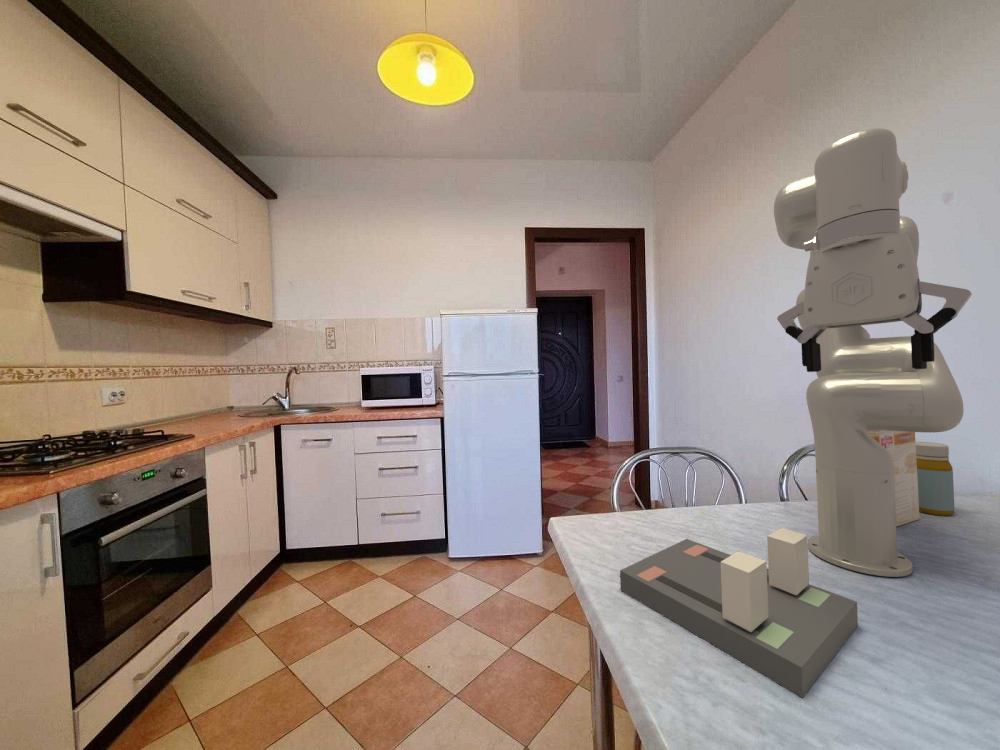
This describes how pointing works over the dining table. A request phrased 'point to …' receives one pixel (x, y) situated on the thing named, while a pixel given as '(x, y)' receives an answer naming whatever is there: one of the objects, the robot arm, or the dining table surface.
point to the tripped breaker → (744, 590)
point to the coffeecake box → (902, 472)
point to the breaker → (788, 560)
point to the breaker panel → (768, 649)
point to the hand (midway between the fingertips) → (862, 370)
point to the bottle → (934, 479)
